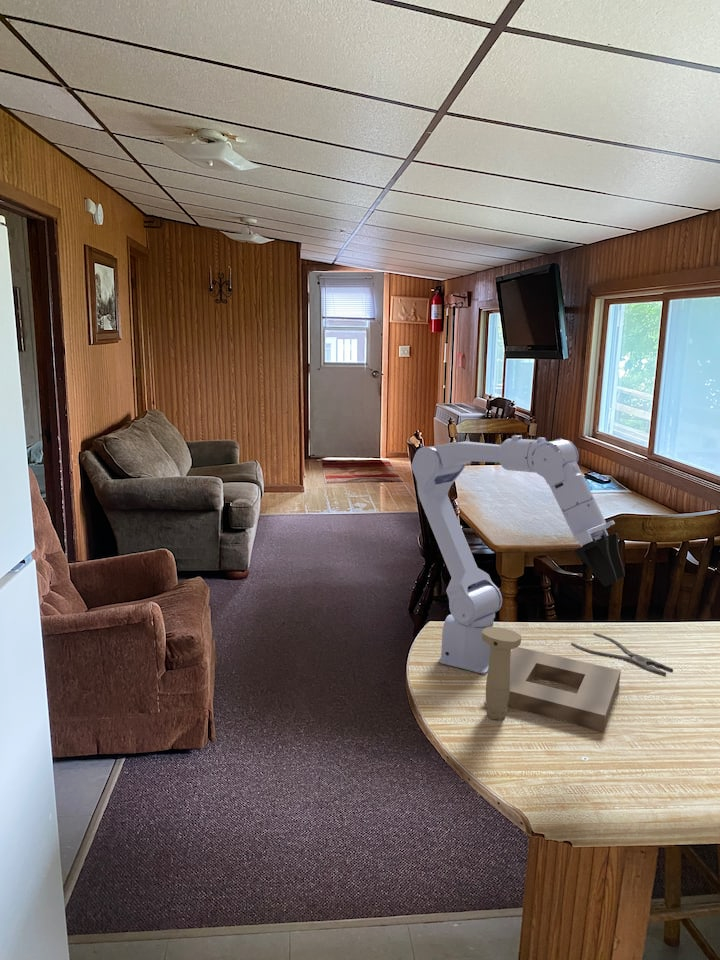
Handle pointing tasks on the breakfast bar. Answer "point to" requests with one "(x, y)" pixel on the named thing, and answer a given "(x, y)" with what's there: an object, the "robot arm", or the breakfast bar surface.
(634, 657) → the pliers
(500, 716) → the handle
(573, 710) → the socket plate
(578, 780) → the breakfast bar surface
